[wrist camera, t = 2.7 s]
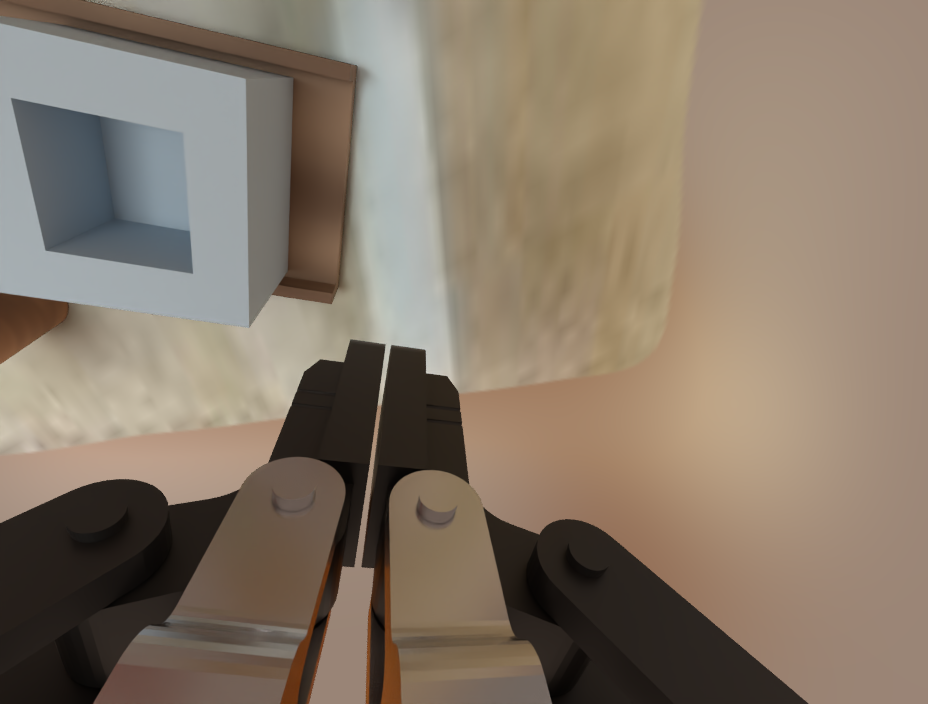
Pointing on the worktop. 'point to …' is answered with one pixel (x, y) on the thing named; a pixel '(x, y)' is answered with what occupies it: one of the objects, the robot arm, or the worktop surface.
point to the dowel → (26, 321)
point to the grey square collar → (140, 175)
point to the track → (313, 124)
